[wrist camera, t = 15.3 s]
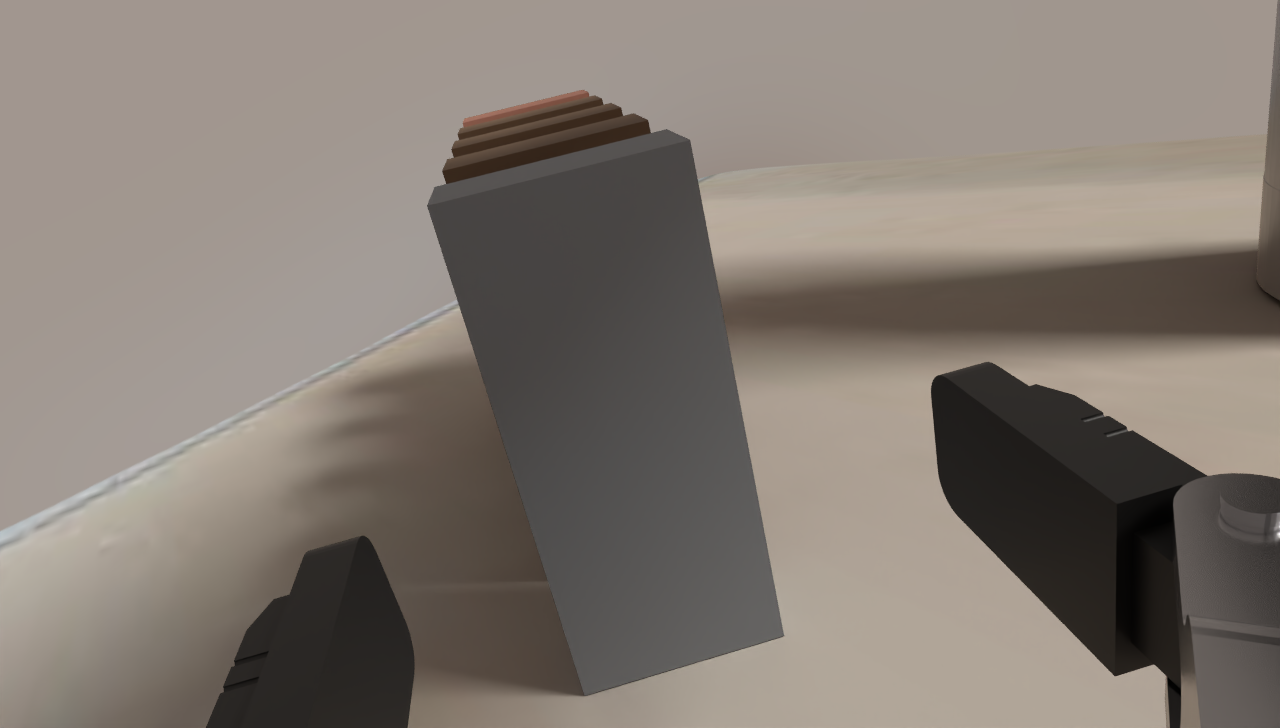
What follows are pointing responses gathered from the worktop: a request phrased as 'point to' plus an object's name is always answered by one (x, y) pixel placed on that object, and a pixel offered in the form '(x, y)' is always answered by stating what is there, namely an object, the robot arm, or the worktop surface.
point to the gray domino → (616, 400)
